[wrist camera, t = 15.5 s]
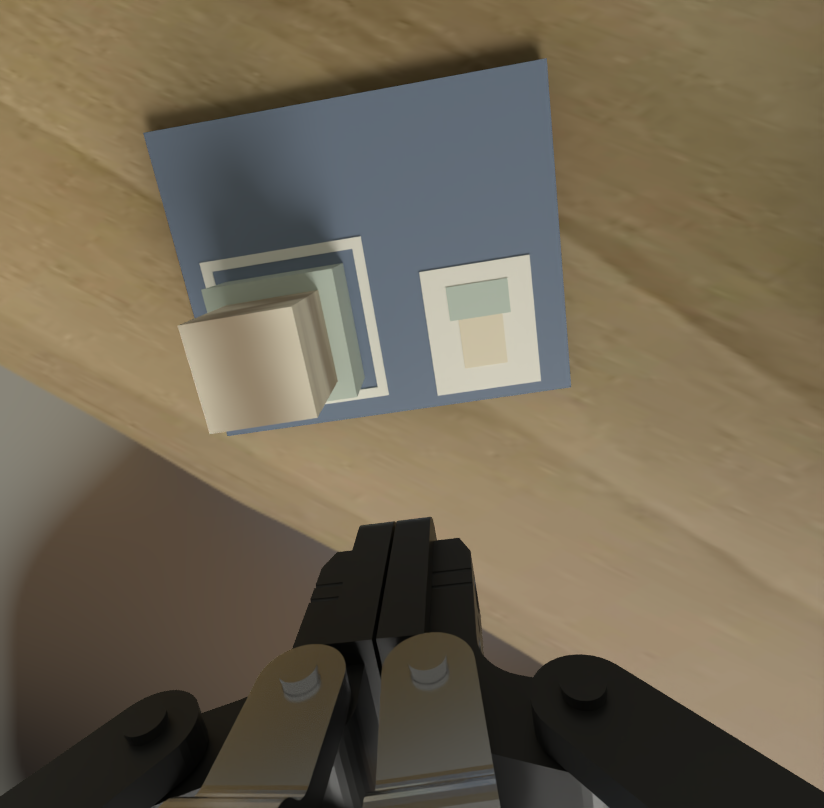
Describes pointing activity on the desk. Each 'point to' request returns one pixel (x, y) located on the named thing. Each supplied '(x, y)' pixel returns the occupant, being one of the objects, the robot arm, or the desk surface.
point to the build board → (392, 228)
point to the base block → (333, 305)
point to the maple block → (261, 361)
